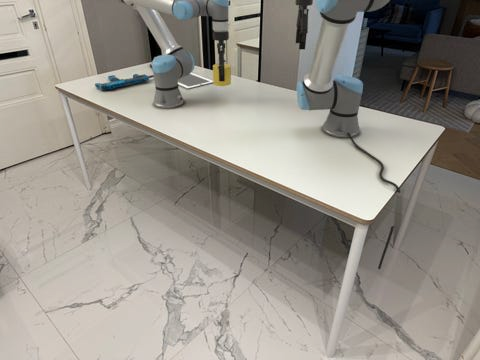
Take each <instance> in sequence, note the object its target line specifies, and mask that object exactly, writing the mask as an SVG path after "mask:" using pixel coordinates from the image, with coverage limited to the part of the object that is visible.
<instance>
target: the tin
mask: <svg viewBox="0 0 480 360" xmlns="http://www.w3.org/2000/svg"><path fill="white" fill-rule="evenodd" d="M218 67H219V63H215V64H213V65H212V81H213V83H212V84H213V85H214V86H216V87H227V86H230V85H231V84H232V65H231V64H230V63H226V62H224V72H225V81H219V68H218Z"/></svg>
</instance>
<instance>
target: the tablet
mask: <svg viewBox="0 0 480 360" xmlns="http://www.w3.org/2000/svg"><path fill="white" fill-rule="evenodd" d="M209 84H214V83H213V79H210V78H207V77H204V76H201V75H199V74H197V73H193V72H191V73H190V74H189V75H187V76H184V77H182V78H180V79H178V86H180V87H181V88H184V89H186V90H190V89H193V88H196V87H202V86H205V85H209Z"/></svg>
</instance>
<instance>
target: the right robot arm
mask: <svg viewBox="0 0 480 360" xmlns="http://www.w3.org/2000/svg"><path fill="white" fill-rule="evenodd" d="M390 1H391V0H316V8H317V10H318V12H319V15H320V18H321V19H322V20H321V25H320V28H319V33H318V36H317V41H316V44H315V49H314V53H313V57H312V61H311V63H310V68H309V72H307V73H306V74H305V75H304V77H303V80H300V81H298V82H297V84H296V97H297V102H298V107H299V109H301V110H302V111H322V110H325V111H326V110H329V112H328V115H327V117H326V120H325V121H324V123H323V126H322V130H323V132H324V133H325V134H326V135H329V136H332V137H335V138H339V139H341V138H342V139H350V141H351V143H352V145H353V146H354V147H355V148H357V149H358V150H359V151H361V152H362V153H364V154H365V155H367V156H368V157H369V158H371V159H372V160H374V161H375V162H377V163H378V164H379V165H380V170H379V173H378V177H379V179H380V180H381V181H382V182H384V183H387V184H390V185H391V186H393V187H394V188H395V189H396V192H397V193H399V194H400V193H401V189H400V187H399V186H398V184H396V183H395V182H393V181H391V180H388V179H386V178H384V177H383V172H384V169H385V166H384V164H383V162H382V161H381V160H380V159H378V158H377V157H376V156H374V155H372V154H371V153H369V152H368V151H367V150H365V149H364V148H362V147H360V146H359V145H358V144H357V143H356V142H355V140H354V137H356V136H357V135H359V132H360V125H359V118H358V117H359V116H358V114H359V111H360V110H359V109H360V105H361V101H362V95H363V89H364V83H363V82H362V80H360V79H359V78H356V77H354V76H351V75H342V74H339V75H336V76H335V77H334V79H333V77H332V76H333V73H334V71H335V67H336V63H337V61H338V58H339V54H340V51H341V48H342V46H343V42H344V38H345V35H346V32H347V30H348V27H349V25H351V24H352V23H353V22H354V21H355V20H356V17H357V14H358V13H364V12H369V13H370V12H374V11H377V10H380V9H382V8H383V7H385V6H386V5H388V3H389V2H390ZM313 2H314V0H295V5H296V6H298V10H297V18H296V33H295V44H299V45H298V50H306V45H307V34H308V33H309V31H308V29H309V12H310V10H309V8H308V6H312V5H313V4H314V3H313ZM394 229H395V225H393V226H390V229H389V233H388V236H387V240H386V243H385V246H384V248H383V251H382V254H381V257H380V261H379V263H378V267H377V270H381V269H382V265H383V263H384V258H385V255H386V253H387V251H388V248H389V245H390V242H391V238H392V236H393V232H394Z"/></svg>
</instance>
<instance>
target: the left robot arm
mask: <svg viewBox="0 0 480 360" xmlns="http://www.w3.org/2000/svg"><path fill="white" fill-rule="evenodd" d="M115 1H116V2H118V3H121V4H124V5H130V6H131V7H132V9H133V10H136V11H138V13H139V15H140V16H141V18H142V19H143V21H144V24H145V25H146V27H147V28H148V30H149V31H150V34H152V36H153V38H154V40H155V41H156V43H157V45H158V46H159V48H160V50H161V52H162V51H163V53H164V55H163V56H162V55H157V56H158V57H157V56H155V57H156V58H155V57H153V60H152V61H151V63H149V66H150V68H151V69H152V75H154V77H153V81H154V87H155V91H154V98H153V105H154V106H155V107H156V108H159V109H176V108H178V107H180V106H182V105H183V104H184V97H183V95H182V93H181V90H180V88H179V85H178V79H180V78H182V77H184V76H187V75H189V74H190V73H193V71H194V69H195V63H196V62H195V59H194V57H193V55H192V54H191V53H190V52H189V51H187V50H186V51H185V49H184V47H183V46H182V45H179V44H178V43H177V41H176V39H175V37H174V36H173V34H172V32H171V31H170V30H169V28H168V26H167V25H166V22H165V20H164V19H163V18H162V16H161V13H164V14H167V15H170V16H174V17H175V18H176V19H177V20H178V21H189V20H191V19H194V18H199V17H211V18H212V19H211V20H212V21H211V24H212V39H213V40H214V41H216V42H217V41H218V42H217V43H216V47H217V54H218V64H219V67H218V68H219V81H225V72H224V63H226V59H225V54H226V41H228V40H229V39H230V32H229V29H230V28H229V26H230V25H231V23H230V22H229V7H230V5H229V0H115Z"/></svg>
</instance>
